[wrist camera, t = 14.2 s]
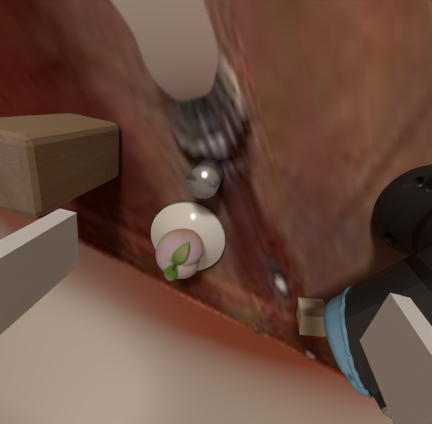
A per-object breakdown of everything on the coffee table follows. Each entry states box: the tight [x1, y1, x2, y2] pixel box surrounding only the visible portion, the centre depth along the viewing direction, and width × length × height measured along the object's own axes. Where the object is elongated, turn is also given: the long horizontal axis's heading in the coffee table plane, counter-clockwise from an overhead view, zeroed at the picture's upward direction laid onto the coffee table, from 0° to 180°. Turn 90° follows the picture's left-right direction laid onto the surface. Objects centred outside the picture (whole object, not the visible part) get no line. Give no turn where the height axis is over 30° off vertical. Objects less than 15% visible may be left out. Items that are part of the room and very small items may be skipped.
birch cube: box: [297, 298, 326, 337], centre depth 51 cm, size 5×5×5 cm
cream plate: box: [151, 201, 226, 270], centre depth 50 cm, size 15×15×2 cm
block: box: [0, 113, 119, 217], centre depth 38 cm, size 10×10×20 cm
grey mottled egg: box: [186, 158, 224, 199], centre depth 42 cm, size 5×5×7 cm
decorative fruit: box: [156, 229, 204, 281], centre depth 45 cm, size 9×8×10 cm
